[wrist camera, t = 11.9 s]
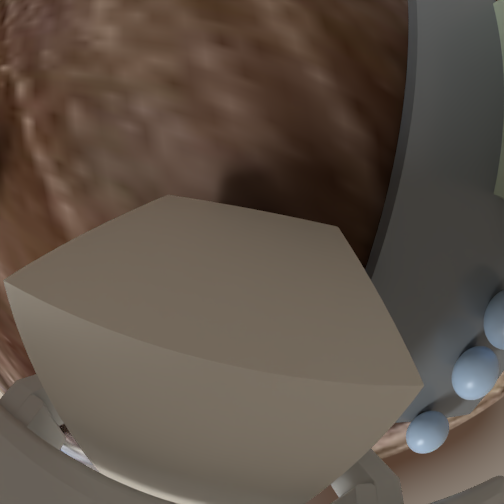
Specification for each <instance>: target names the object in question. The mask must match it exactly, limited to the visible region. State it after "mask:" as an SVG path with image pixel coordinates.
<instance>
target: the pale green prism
mask: <svg viewBox="0 0 504 504" xmlns="http://www.w3.org/2000/svg"><path fill="white" fill-rule="evenodd" d="M493 6H494V10H495V14H496V19H497V24H498V30H499V36H500V42H501V50H502V60H503V73H504V0H498V1H496V2H495V3H493ZM494 195H496V196H498V197H500V198H502V199H503V200H504V122H503V136H502V146H501V154H500V161H499V168H498V174H497V179H496V184H495V189H494Z"/></svg>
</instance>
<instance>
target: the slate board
mask: <svg viewBox="0 0 504 504" xmlns="http://www.w3.org/2000/svg"><path fill="white" fill-rule="evenodd" d="M495 2H496V1H495V0H408V15H409V36H408V61H407V75H406V86H405V96H404V104H403V112H402V119H401V126H400V132H399V138H398V144H397V149H396V154H395V160H394V164H393V169H392V174H391V179H390V183H389V187H388V192H387V196H386V200H385V204H384V208H383V211H382V215H381V219H380V222H379V226H378V230H377V233H376V236H375V240H374V243H373V246H372V250H371V253H370V256H369V259H368V262H367V265H366V268H365V271H366V273H367V274H368V276H369V278H370V280H371V281H372V283H373V285H374V287H375V288H376V290H377V292H378V294H379V295H380V297H381V299H382V301H383V303H384V304H385V306H386V308H387V310H388V312H389V314H390V316H391V318H392V319H393V321H394V323H395V325H396V327H397V329H398V331H399V333H400V335H401V337H402V339H403V341H404V343H405V345H406V347H407V349H408V351H409V353H410V355H411V357H412V360H413V362H414V364H415V366H416V368H417V370H418V373H419V375H420V377H421V379H422V382H423V384H424V387H423V388H422V389H421V391H420V392H419V393H418V395H417V396H416V397H415V399H414V400H413V401H412V403H411V404H410V405H409V406H408V408H407V409H406V410H405V411H404V412H403V414H402V415H401V416H400V417H399V418H398V420H397V421H396V422H412V421H413V420H414V418H416V417H417V416H418V415H420V414H421V413H424V412H426V411H438V412H441V413H442V414H444V415H445V417H446V418H448V417H455V416H461V415H466V414H470V413H471V412H472V411H473V409H474V408H475V407H476V406H477V405H478V404H479V402H480V401H481V400H482V399H483V397H484V396H483V397H481V398H479V399H476V400H466V399H463V398H461V397H460V396H458V394H457V393H456V392H455V390H454V388H453V385H452V371H453V368H454V365H455V363H456V361H457V360H458V358H459V357H460V356H461V355H462V354H463V353H464V352H465V351H467V350H468V349H470V348H472V347H475V346H485V347H488V348H490V349H491V350H492V351H493V352H494V353H495V354H496V356H497V358H498V361H499V375H498V378H499V376H500V375H501V374H502V372H503V371H504V350H502V349H498V348H496V347H494V346H493V345H492V344H491V343H490V342H489V341H488V339H487V337H486V335H485V331H484V315H485V311H486V308H487V306H488V304H489V302H490V301H491V299H492V298H493V297H494V296H495V295H496V294H498V293H499V292H501V291H503V290H504V200H503V199H502V198H500V197H498V196H496V195H494V189H495V184H496V179H497V174H498V168H499V161H500V154H501V146H502V136H503V122H504V73H503V60H502V50H501V42H500V36H499V30H498V24H497V19H496V14H495V10H494V6H493V3H495ZM498 378H497V379H498ZM396 422H395V423H396Z"/></svg>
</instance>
